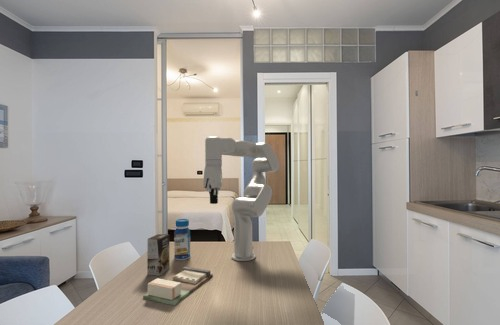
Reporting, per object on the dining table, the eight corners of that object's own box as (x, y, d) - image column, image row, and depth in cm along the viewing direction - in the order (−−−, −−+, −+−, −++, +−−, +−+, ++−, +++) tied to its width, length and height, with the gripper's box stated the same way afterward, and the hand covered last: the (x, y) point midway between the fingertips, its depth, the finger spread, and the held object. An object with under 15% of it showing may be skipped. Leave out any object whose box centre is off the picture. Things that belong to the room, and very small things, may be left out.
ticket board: (185, 271, 121) (185, 265, 121) (212, 276, 115) (212, 269, 115) (143, 298, 96) (143, 290, 97) (174, 305, 91) (174, 297, 91)
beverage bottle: (193, 256, 141) (193, 219, 141) (182, 261, 134) (181, 222, 134) (182, 254, 145) (182, 217, 146) (170, 258, 138) (170, 220, 138)
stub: (157, 288, 101) (157, 278, 101) (181, 293, 97) (180, 282, 97) (147, 294, 97) (147, 283, 97) (172, 300, 92) (172, 288, 92)
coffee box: (159, 276, 116) (159, 239, 117) (146, 275, 118) (146, 238, 118) (170, 268, 125) (170, 234, 125) (157, 267, 126) (157, 233, 127)
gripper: (214, 163, 130) (214, 201, 130) (197, 163, 116) (197, 205, 116) (228, 163, 127) (228, 201, 127) (212, 163, 113) (212, 206, 113)
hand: (213, 203), depth 121 cm, fingers closed
